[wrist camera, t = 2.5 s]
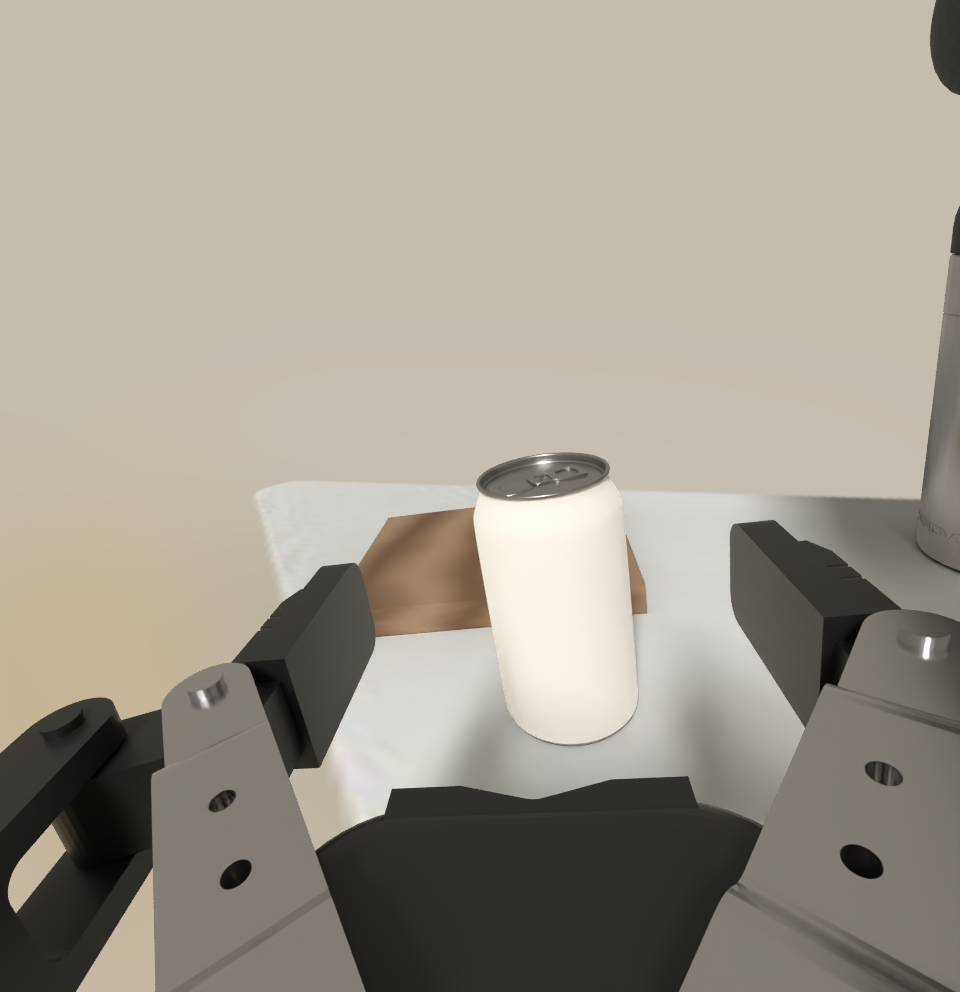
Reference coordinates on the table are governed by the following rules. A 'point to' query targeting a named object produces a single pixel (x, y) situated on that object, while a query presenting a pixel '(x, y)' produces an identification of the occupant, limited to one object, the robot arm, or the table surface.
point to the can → (559, 595)
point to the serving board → (438, 575)
